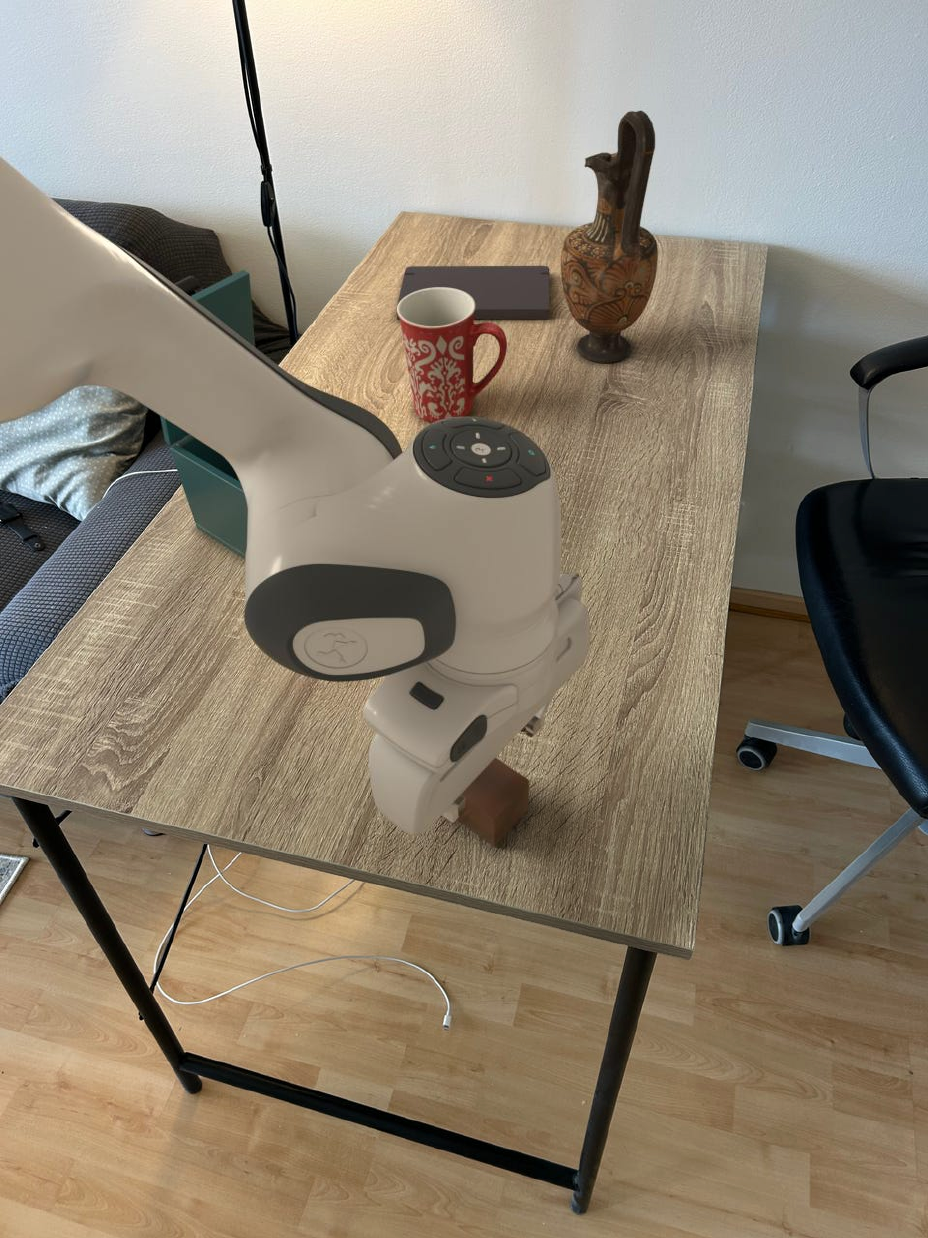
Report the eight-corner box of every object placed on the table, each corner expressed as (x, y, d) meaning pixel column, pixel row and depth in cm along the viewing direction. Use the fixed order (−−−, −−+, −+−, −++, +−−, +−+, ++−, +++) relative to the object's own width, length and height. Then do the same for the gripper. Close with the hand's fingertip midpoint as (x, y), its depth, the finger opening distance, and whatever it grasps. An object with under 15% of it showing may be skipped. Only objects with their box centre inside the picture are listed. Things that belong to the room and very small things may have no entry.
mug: (395, 422, 109) (384, 320, 99) (420, 382, 115) (412, 281, 105) (494, 438, 106) (493, 335, 96) (515, 396, 112) (516, 295, 102)
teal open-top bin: (360, 523, 97) (347, 441, 89) (281, 583, 91) (259, 501, 83) (276, 474, 103) (256, 394, 95) (196, 528, 97) (169, 447, 89)
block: (494, 848, 70) (494, 819, 67) (452, 817, 72) (449, 787, 69) (528, 809, 73) (529, 780, 69) (486, 780, 75) (485, 750, 71)
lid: (249, 273, 83) (211, 246, 84) (147, 325, 77) (108, 296, 78) (258, 392, 95) (225, 367, 96) (170, 445, 89) (136, 418, 90)
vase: (623, 320, 123) (648, 76, 101) (664, 366, 115) (701, 112, 93) (543, 336, 121) (552, 91, 99) (580, 385, 113) (598, 129, 91)
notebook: (397, 319, 126) (549, 319, 124) (395, 308, 124) (549, 308, 123) (406, 275, 134) (549, 275, 133) (405, 265, 133) (549, 265, 132)
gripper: (544, 541, 64) (540, 664, 74) (342, 725, 54) (369, 838, 64) (619, 579, 61) (604, 701, 71) (420, 781, 51) (436, 890, 61)
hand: (491, 768), depth 68 cm, fingers open, 8 cm apart
